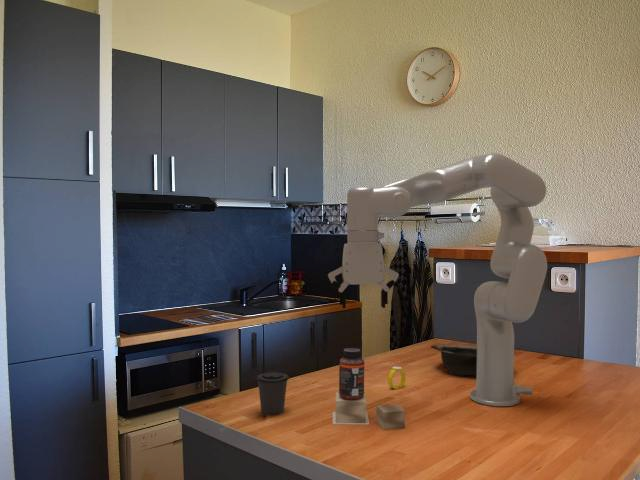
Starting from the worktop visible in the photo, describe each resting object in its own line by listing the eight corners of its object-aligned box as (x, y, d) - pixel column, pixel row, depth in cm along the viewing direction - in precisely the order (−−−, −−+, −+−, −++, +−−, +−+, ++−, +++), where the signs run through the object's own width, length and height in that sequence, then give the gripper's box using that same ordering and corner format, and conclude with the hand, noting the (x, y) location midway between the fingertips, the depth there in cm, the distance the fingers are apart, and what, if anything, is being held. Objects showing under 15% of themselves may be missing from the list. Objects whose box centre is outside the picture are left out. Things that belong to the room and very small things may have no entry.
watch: (399, 386, 166) (400, 365, 166) (406, 388, 164) (408, 367, 164) (385, 388, 162) (386, 367, 162) (392, 390, 160) (393, 369, 160)
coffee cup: (263, 421, 134) (263, 379, 134) (251, 411, 142) (251, 371, 141) (294, 416, 138) (294, 375, 138) (281, 406, 145) (281, 367, 145)
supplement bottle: (362, 401, 132) (362, 352, 131) (336, 399, 133) (337, 351, 133) (365, 394, 138) (366, 347, 137) (341, 392, 139) (341, 346, 138)
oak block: (396, 420, 134) (396, 404, 133) (404, 428, 129) (404, 410, 129) (376, 422, 132) (376, 405, 132) (383, 430, 128) (383, 412, 127)
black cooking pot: (454, 382, 168) (453, 351, 168) (420, 368, 192) (419, 340, 192) (529, 376, 173) (527, 346, 174) (486, 363, 198) (485, 336, 198)
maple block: (364, 413, 139) (364, 392, 139) (365, 423, 132) (366, 401, 132) (335, 412, 139) (335, 392, 139) (335, 422, 132) (335, 401, 132)
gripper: (396, 237, 143) (396, 304, 144) (327, 237, 143) (328, 305, 144) (400, 237, 136) (400, 309, 136) (327, 238, 136) (328, 310, 136)
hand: (363, 307), depth 140 cm, fingers open, 9 cm apart
